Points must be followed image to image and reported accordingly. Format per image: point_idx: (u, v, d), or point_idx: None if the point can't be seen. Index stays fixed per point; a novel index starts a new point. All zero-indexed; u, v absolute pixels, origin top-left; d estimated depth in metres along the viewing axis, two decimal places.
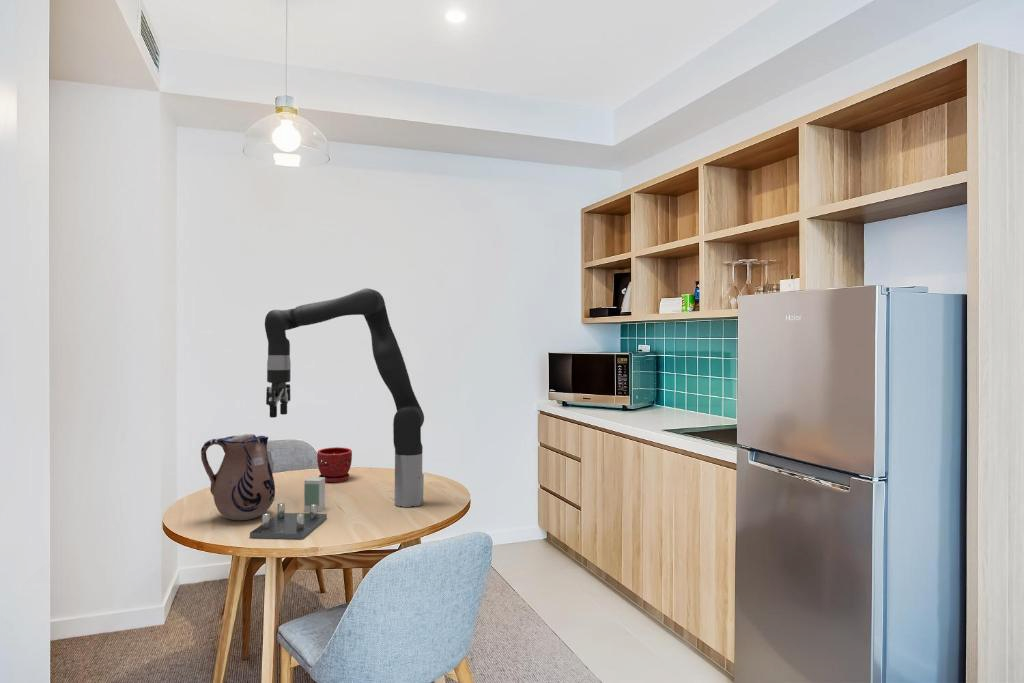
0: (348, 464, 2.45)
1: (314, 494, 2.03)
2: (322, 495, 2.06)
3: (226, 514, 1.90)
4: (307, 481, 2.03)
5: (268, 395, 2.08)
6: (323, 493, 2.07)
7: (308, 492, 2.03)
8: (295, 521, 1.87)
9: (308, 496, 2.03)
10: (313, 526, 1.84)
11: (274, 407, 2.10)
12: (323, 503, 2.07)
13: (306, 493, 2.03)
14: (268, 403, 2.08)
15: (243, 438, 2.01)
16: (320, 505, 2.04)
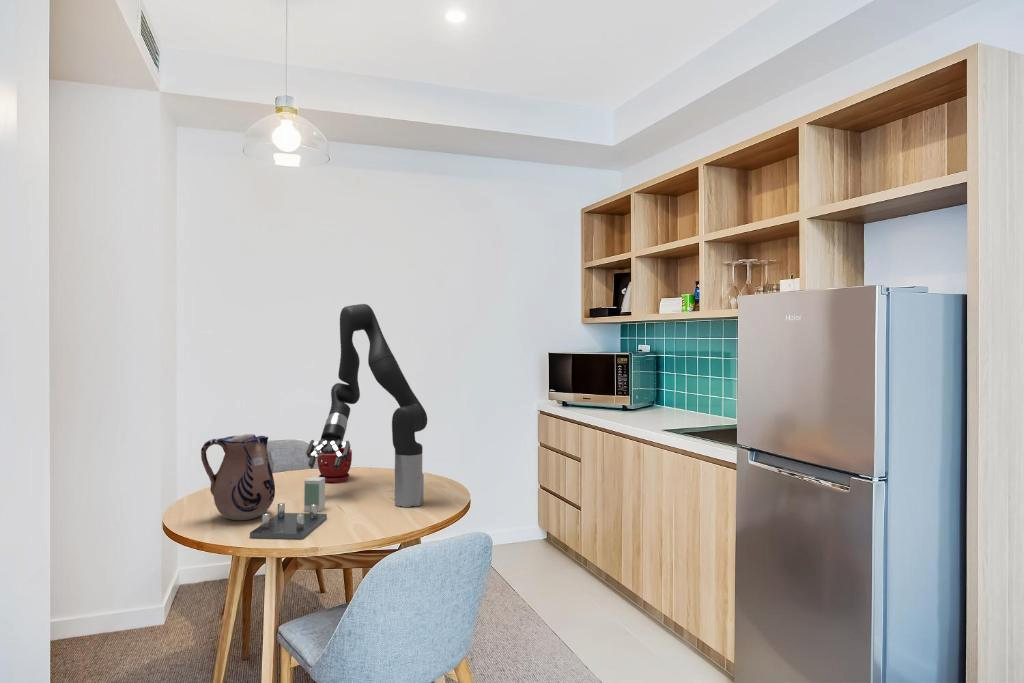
0: (348, 464, 2.45)
1: (314, 494, 2.03)
2: (322, 495, 2.06)
3: (226, 514, 1.90)
4: (307, 481, 2.03)
5: None
6: (323, 493, 2.07)
7: (308, 492, 2.03)
8: (295, 521, 1.87)
9: (308, 496, 2.03)
10: (313, 526, 1.84)
11: (311, 457, 2.16)
12: (323, 503, 2.07)
13: (306, 493, 2.03)
14: (307, 455, 2.18)
15: (243, 438, 2.01)
16: (320, 505, 2.04)
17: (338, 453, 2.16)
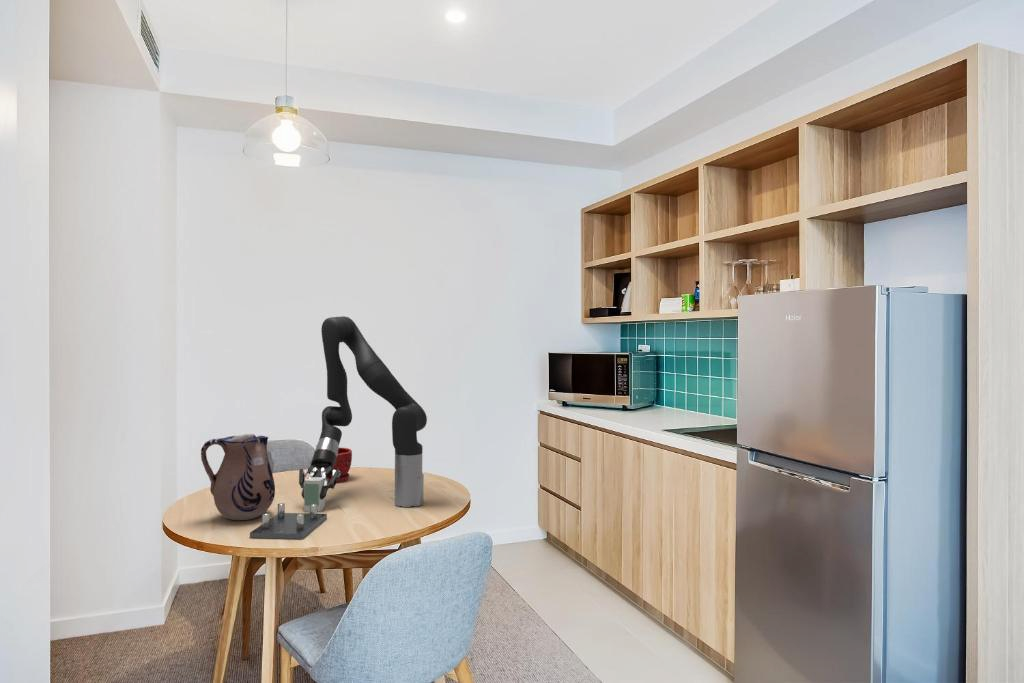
0: (348, 464, 2.45)
1: (314, 494, 2.03)
2: None
3: (226, 514, 1.90)
4: (307, 481, 2.03)
5: None
6: None
7: (308, 492, 2.03)
8: (295, 521, 1.87)
9: (308, 496, 2.03)
10: (313, 526, 1.84)
11: None
12: (323, 503, 2.07)
13: (306, 493, 2.03)
14: (300, 485, 2.08)
15: (243, 438, 2.01)
16: (320, 505, 2.04)
17: (324, 482, 2.06)
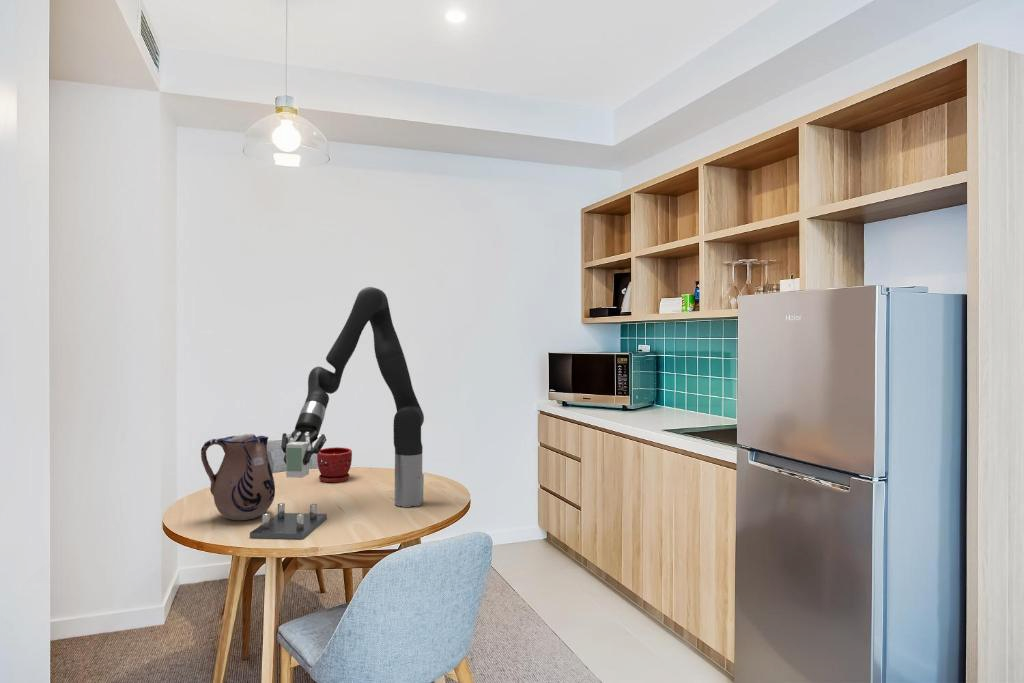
0: (348, 464, 2.45)
1: (297, 459, 1.90)
2: None
3: (226, 514, 1.90)
4: (289, 445, 1.90)
5: None
6: None
7: (290, 457, 1.90)
8: (295, 521, 1.87)
9: (290, 461, 1.90)
10: (313, 526, 1.84)
11: (286, 452, 1.93)
12: (307, 469, 1.94)
13: (289, 458, 1.90)
14: (283, 450, 1.95)
15: (243, 438, 2.01)
16: (303, 471, 1.91)
17: (308, 447, 1.93)
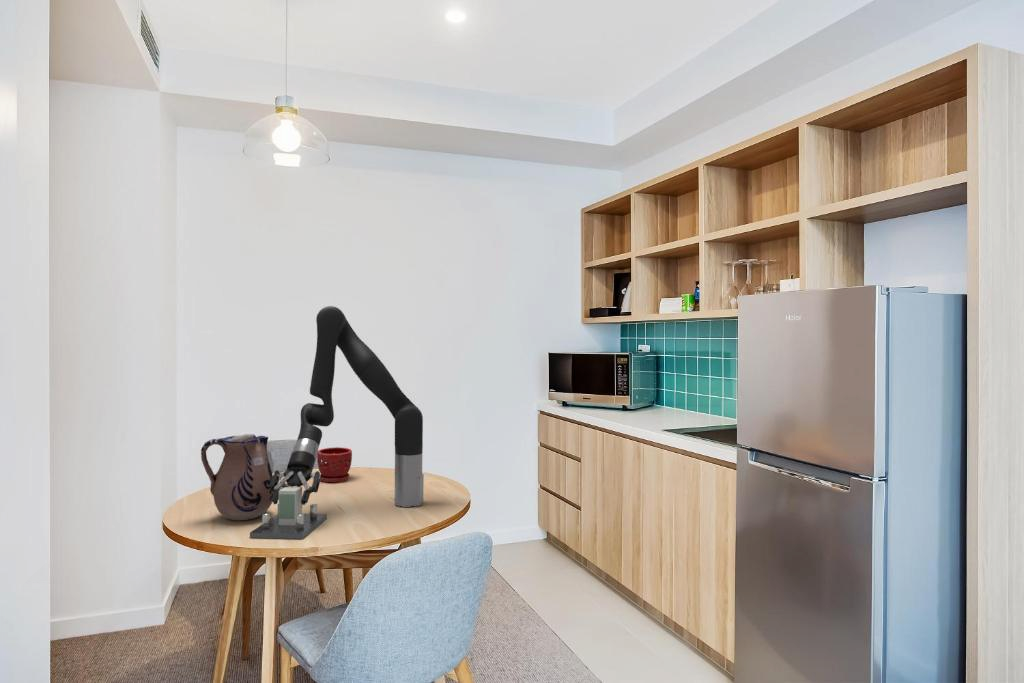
0: (348, 464, 2.45)
1: (289, 506, 1.83)
2: (299, 507, 1.86)
3: (226, 514, 1.90)
4: (282, 491, 1.83)
5: None
6: (300, 504, 1.87)
7: (283, 504, 1.83)
8: None
9: (283, 508, 1.83)
10: (313, 526, 1.84)
11: (274, 491, 1.86)
12: None
13: (281, 505, 1.83)
14: None
15: (243, 438, 2.01)
16: (296, 518, 1.84)
17: (306, 486, 1.87)
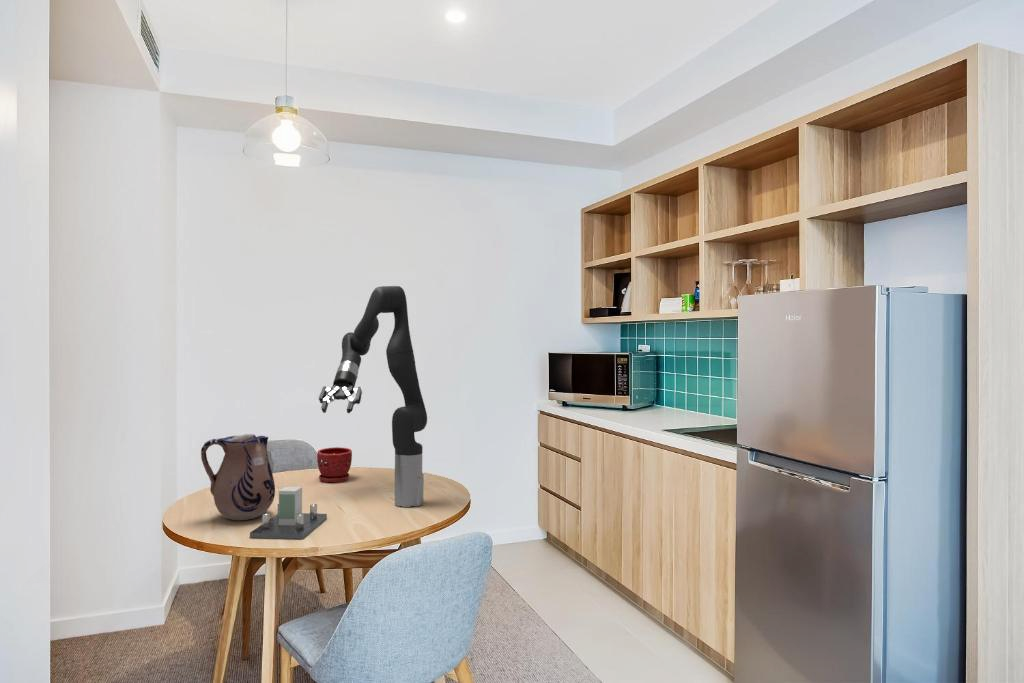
0: (348, 464, 2.45)
1: (289, 506, 1.83)
2: (299, 507, 1.86)
3: (226, 514, 1.90)
4: (282, 491, 1.83)
5: None
6: (300, 504, 1.87)
7: (283, 504, 1.83)
8: None
9: (283, 508, 1.83)
10: (313, 526, 1.84)
11: (323, 402, 2.19)
12: None
13: (281, 505, 1.83)
14: None
15: (243, 438, 2.01)
16: (296, 518, 1.84)
17: (350, 398, 2.19)
